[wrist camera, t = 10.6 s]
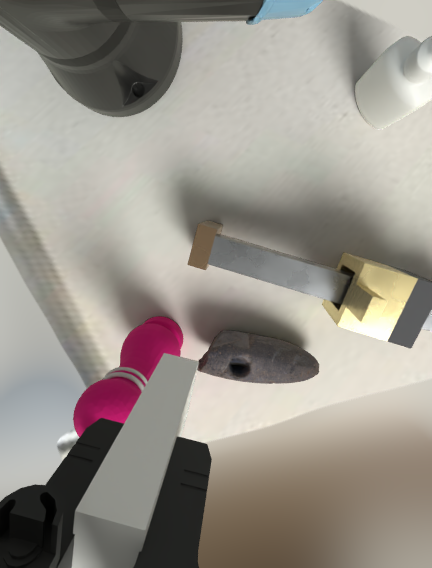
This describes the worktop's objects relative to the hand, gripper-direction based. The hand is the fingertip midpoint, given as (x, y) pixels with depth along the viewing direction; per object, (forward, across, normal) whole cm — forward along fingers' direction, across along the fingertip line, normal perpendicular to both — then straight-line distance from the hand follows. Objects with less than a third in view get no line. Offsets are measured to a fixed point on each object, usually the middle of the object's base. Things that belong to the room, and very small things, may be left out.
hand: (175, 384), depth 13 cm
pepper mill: (+26, -6, -12) cm, 30 cm away
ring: (+24, +19, +1) cm, 31 cm away
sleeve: (+24, +15, +1) cm, 28 cm away
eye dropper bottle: (+27, +12, +20) cm, 36 cm away
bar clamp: (+26, +12, +1) cm, 29 cm away
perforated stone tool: (+26, +7, -10) cm, 29 cm away
